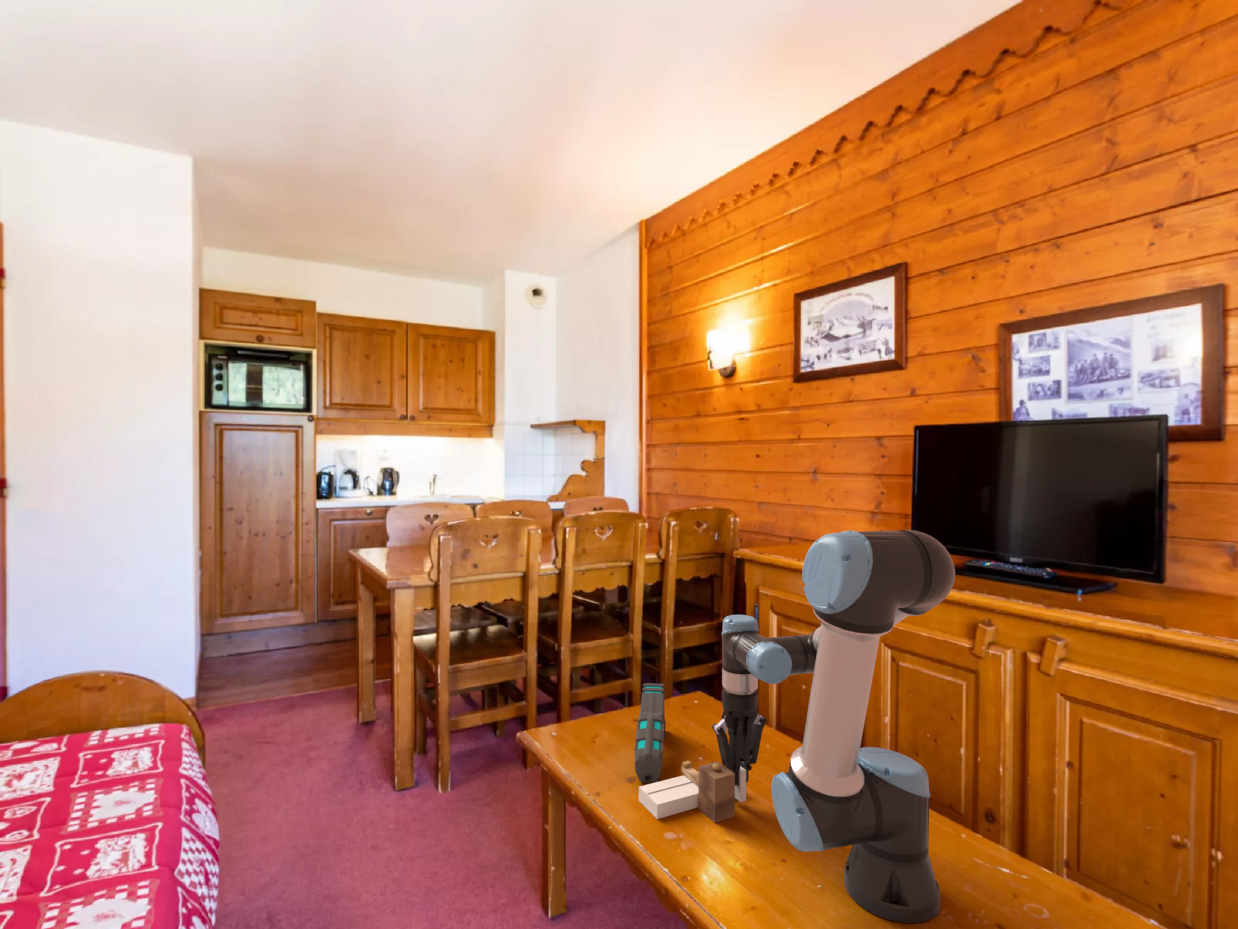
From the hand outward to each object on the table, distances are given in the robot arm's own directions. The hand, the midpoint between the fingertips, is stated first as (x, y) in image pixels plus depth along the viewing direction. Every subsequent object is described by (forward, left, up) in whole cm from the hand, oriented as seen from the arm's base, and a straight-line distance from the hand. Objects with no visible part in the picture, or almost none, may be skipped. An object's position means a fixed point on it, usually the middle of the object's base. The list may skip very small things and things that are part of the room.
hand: (739, 798), depth 135 cm
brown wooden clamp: (+5, +6, -2) cm, 8 cm away
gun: (+29, +6, -2) cm, 29 cm away
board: (+7, +8, -2) cm, 11 cm away
